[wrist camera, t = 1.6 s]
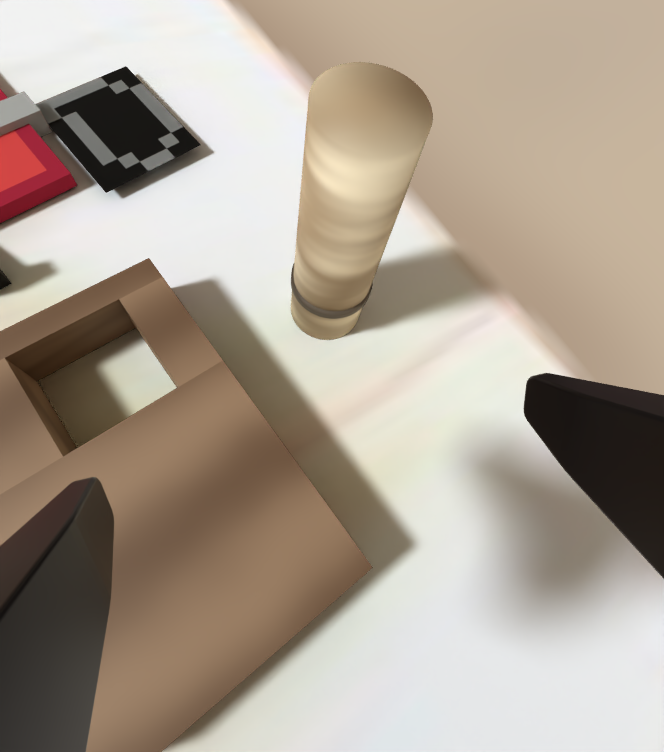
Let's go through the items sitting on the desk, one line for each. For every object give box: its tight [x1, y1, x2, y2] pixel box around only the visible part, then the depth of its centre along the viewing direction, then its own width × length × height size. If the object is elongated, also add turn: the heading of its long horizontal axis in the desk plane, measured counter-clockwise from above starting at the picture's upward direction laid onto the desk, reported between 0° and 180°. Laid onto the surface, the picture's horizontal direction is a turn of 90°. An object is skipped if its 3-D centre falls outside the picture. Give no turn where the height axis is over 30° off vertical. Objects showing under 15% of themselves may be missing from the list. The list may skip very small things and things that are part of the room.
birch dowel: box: [291, 62, 433, 340], centre depth 20 cm, size 4×4×13 cm
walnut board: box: [0, 258, 373, 752], centre depth 20 cm, size 18×12×3 cm, turn 37°
